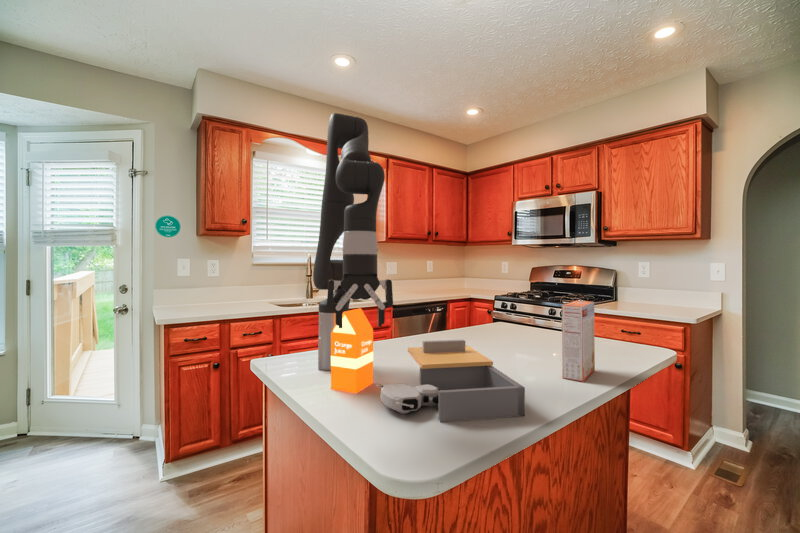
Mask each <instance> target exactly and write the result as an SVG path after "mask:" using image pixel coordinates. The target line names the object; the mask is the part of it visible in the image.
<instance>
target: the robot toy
mask: <svg viewBox="0 0 800 533" xmlns="http://www.w3.org/2000/svg"><path fill="white" fill-rule="evenodd" d="M376 387H380V400H381V402H382V404H384V406H386V407H387V408H389V409H391V410H393V411H396V412H398V413H400V414H401V415H406V414H408V413H410V412H411V411H413V412H414V411H417V410H419V409H420V408H421V407H422V406H428V407H435V406H436V405H437V406H438V391H440V389H439V388H437V387H435V386H433V385H428V384H424V385H420V384H419V385H416V387H415V388H414V387H412V386H410V385H408V384H406V383H405V384H404V383H387V384H384V385H380V384H379V383H378V384H376Z"/></svg>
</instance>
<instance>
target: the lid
mask: <svg viewBox="0 0 800 533" xmlns="http://www.w3.org/2000/svg"><path fill="white" fill-rule="evenodd" d="M407 353H409V354H410V356H411V357H412V358H413V360H414V361H415V362H416V363H417V365H419V368H420V367H421V368H422V369H428V368H449V367H470V366H490V365H491V366H494V361H493V360H492V359H490V358H488V357H486V356H485V355H484V354H482V353H480V352H479V351H477V350H475V349H474V348H472V347H471V346H469V345H466V340H465V339H444V340H423V341H422V346H421V347H416V346H415V347H407Z"/></svg>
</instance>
